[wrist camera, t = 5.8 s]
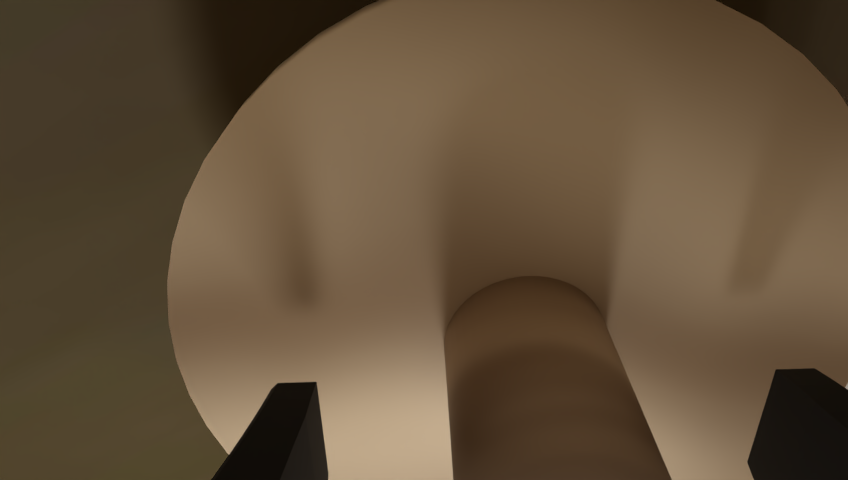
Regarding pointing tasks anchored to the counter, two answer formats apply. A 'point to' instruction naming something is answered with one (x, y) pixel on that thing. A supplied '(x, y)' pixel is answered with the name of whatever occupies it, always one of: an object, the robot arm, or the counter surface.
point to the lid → (521, 240)
